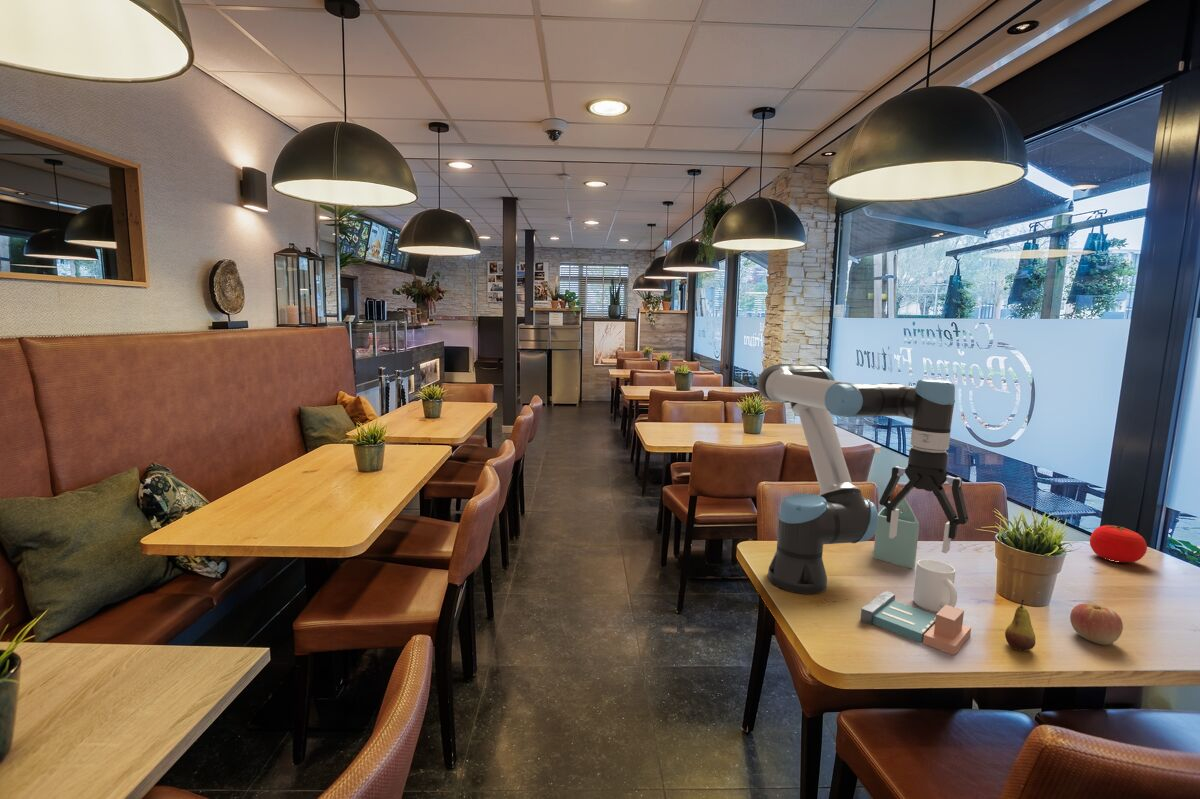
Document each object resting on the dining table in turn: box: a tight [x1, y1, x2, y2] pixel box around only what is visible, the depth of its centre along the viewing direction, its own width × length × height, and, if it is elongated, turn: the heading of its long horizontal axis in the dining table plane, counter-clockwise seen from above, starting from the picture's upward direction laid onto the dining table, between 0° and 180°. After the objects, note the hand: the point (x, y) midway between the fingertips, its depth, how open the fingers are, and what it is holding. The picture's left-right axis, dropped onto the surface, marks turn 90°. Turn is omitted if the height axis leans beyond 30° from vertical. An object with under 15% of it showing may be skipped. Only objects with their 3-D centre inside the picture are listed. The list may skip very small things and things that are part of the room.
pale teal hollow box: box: [872, 497, 920, 570], centre depth 171 cm, size 16×8×20 cm, turn 6°
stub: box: [922, 605, 972, 656], centre depth 125 cm, size 6×12×6 cm, turn 133°
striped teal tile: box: [872, 600, 936, 643], centre depth 133 cm, size 13×12×2 cm
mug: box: [913, 559, 958, 613], centre depth 139 cm, size 12×8×10 cm
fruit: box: [1004, 599, 1036, 651], centre depth 122 cm, size 6×6×12 cm
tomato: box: [1089, 524, 1148, 563], centre depth 175 cm, size 12×13×11 cm
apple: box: [1069, 603, 1124, 646], centre depth 127 cm, size 9×9×8 cm
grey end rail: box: [859, 590, 896, 626], centre depth 136 cm, size 2×14×3 cm, turn 133°
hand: (918, 543), depth 129 cm, fingers open, 10 cm apart
